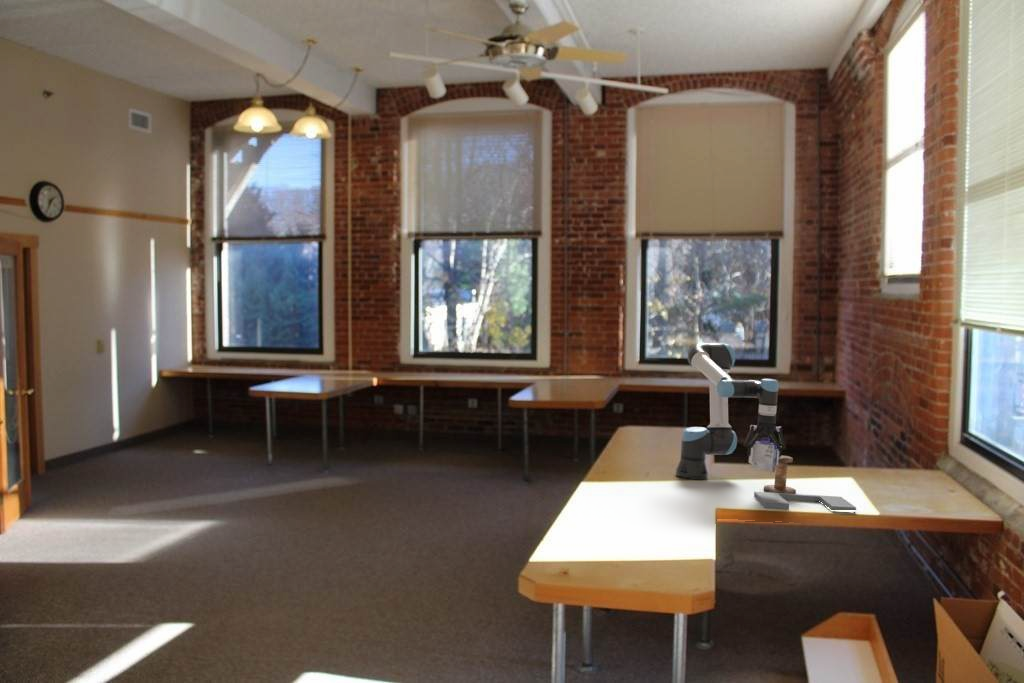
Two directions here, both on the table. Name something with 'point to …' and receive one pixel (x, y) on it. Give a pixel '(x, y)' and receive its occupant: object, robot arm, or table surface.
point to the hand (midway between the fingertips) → (763, 463)
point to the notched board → (780, 500)
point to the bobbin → (781, 477)
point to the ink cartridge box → (764, 455)
